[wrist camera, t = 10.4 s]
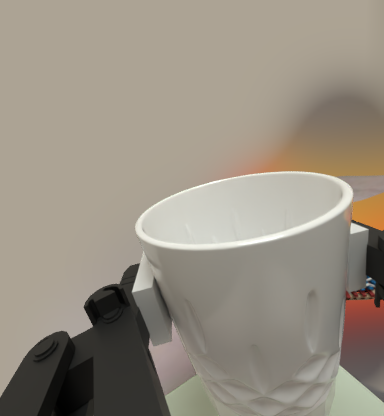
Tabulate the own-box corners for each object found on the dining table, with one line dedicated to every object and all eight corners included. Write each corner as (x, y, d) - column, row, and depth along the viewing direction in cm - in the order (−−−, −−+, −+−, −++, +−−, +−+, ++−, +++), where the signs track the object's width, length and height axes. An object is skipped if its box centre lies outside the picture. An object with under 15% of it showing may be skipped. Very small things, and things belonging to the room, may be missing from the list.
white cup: (389, 531, 6) (435, 245, 3) (168, 429, 9) (85, 248, 6) (326, 313, 13) (320, 162, 10) (212, 301, 16) (182, 185, 13)
